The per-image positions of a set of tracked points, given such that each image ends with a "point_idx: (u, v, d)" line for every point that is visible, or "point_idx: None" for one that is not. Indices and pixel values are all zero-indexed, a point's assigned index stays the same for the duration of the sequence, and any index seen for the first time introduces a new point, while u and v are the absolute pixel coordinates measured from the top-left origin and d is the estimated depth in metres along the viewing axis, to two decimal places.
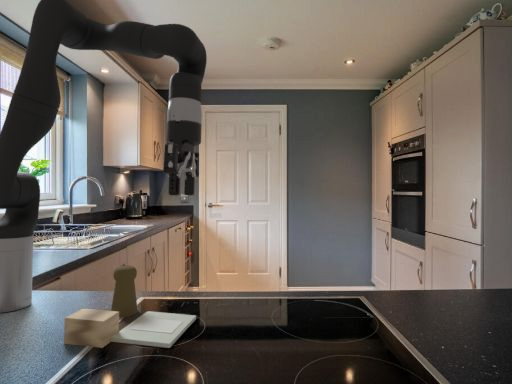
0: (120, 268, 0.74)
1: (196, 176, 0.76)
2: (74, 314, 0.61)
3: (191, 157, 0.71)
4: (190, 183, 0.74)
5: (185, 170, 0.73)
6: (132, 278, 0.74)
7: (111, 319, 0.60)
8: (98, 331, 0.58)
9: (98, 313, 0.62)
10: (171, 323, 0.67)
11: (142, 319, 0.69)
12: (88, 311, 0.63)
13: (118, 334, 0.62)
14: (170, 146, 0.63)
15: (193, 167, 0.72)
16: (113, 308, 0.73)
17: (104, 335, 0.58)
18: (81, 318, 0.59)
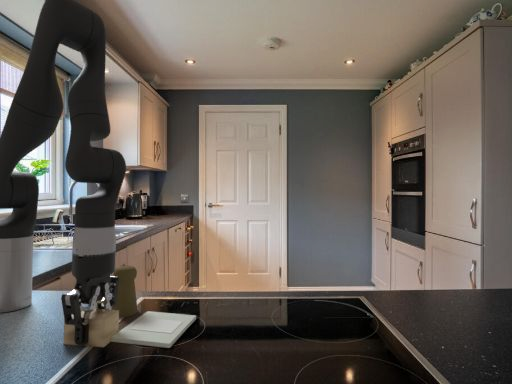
0: (120, 268, 0.74)
1: (111, 305, 0.66)
2: None
3: (103, 287, 0.62)
4: None
5: (97, 301, 0.63)
6: (132, 278, 0.74)
7: (111, 317, 0.61)
8: (99, 329, 0.58)
9: (98, 312, 0.62)
10: (171, 323, 0.67)
11: (142, 319, 0.69)
12: None
13: (118, 334, 0.62)
14: (67, 299, 0.55)
15: (105, 298, 0.63)
16: (113, 308, 0.73)
17: (105, 334, 0.59)
18: None
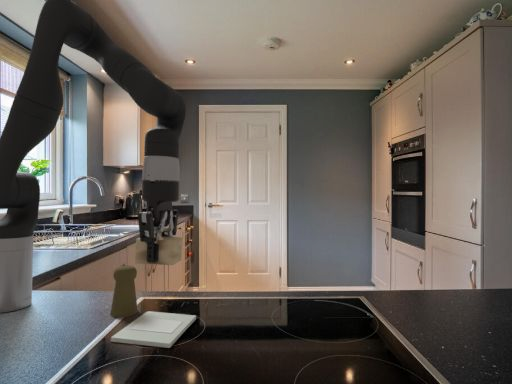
0: (120, 268, 0.74)
1: (173, 234, 0.71)
2: None
3: (168, 214, 0.67)
4: None
5: None
6: (132, 278, 0.74)
7: (177, 241, 0.66)
8: (169, 249, 0.64)
9: (163, 237, 0.67)
10: (171, 323, 0.67)
11: (142, 319, 0.69)
12: None
13: (118, 334, 0.62)
14: (143, 216, 0.60)
15: (170, 226, 0.68)
16: (113, 308, 0.73)
17: (173, 253, 0.64)
18: None
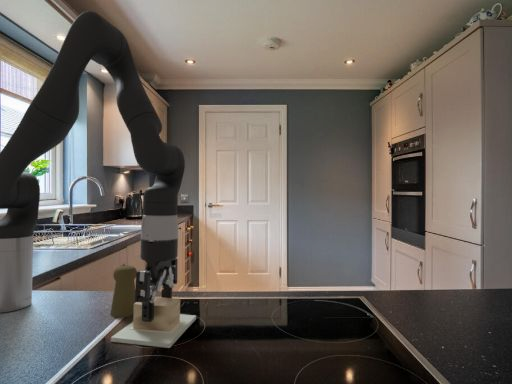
0: (120, 268, 0.74)
1: (174, 283, 0.72)
2: None
3: (167, 272, 0.67)
4: (167, 294, 0.70)
5: None
6: (132, 278, 0.74)
7: (175, 305, 0.66)
8: (166, 315, 0.64)
9: (162, 300, 0.67)
10: None
11: None
12: None
13: (118, 334, 0.62)
14: (142, 274, 0.60)
15: (170, 280, 0.69)
16: (113, 308, 0.73)
17: (171, 319, 0.64)
18: None
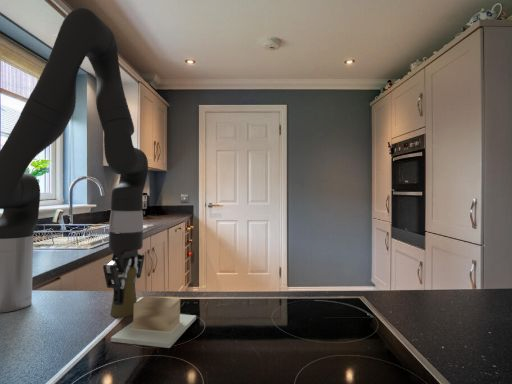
0: None
1: (137, 277, 0.79)
2: (140, 301, 0.66)
3: (133, 260, 0.76)
4: None
5: None
6: (132, 278, 0.74)
7: (175, 305, 0.66)
8: (166, 315, 0.64)
9: (162, 300, 0.67)
10: None
11: None
12: (151, 299, 0.68)
13: (118, 334, 0.62)
14: (108, 268, 0.69)
15: None
16: (113, 308, 0.73)
17: (171, 319, 0.64)
18: (149, 304, 0.64)
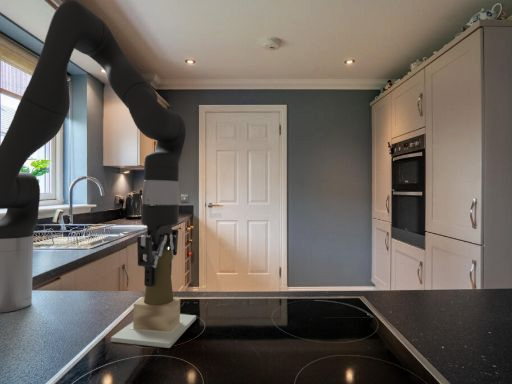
0: None
1: (173, 254, 0.72)
2: (140, 301, 0.66)
3: (168, 238, 0.67)
4: None
5: None
6: (168, 261, 0.66)
7: (175, 305, 0.66)
8: (166, 315, 0.64)
9: None
10: None
11: None
12: None
13: (118, 334, 0.62)
14: (143, 239, 0.60)
15: (170, 248, 0.68)
16: (147, 295, 0.65)
17: (171, 319, 0.64)
18: None
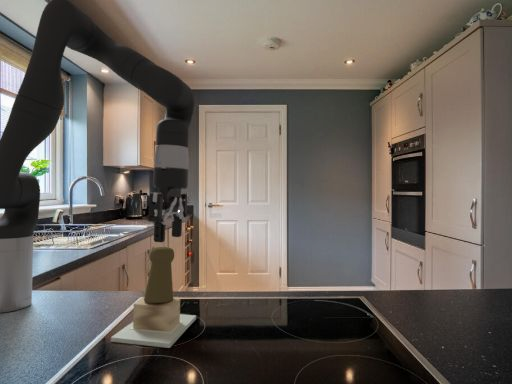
0: (157, 248, 0.67)
1: (184, 217, 0.77)
2: (140, 301, 0.66)
3: (178, 201, 0.71)
4: (177, 225, 0.75)
5: (172, 212, 0.74)
6: (170, 259, 0.67)
7: (175, 305, 0.66)
8: (166, 315, 0.64)
9: None
10: None
11: None
12: None
13: (118, 334, 0.62)
14: (155, 195, 0.64)
15: (180, 210, 0.73)
16: (148, 292, 0.65)
17: (171, 319, 0.64)
18: (149, 304, 0.64)
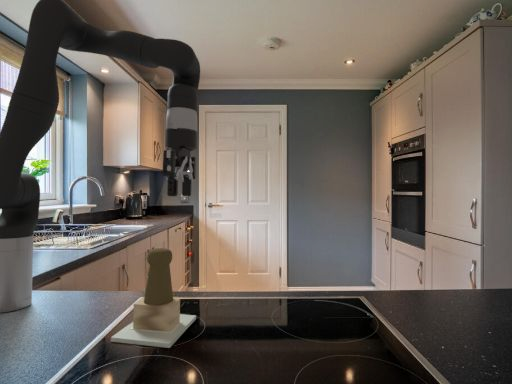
0: (155, 250, 0.66)
1: (193, 178, 0.83)
2: (140, 301, 0.66)
3: (188, 161, 0.77)
4: (187, 185, 0.80)
5: (182, 173, 0.80)
6: (168, 262, 0.66)
7: (175, 305, 0.66)
8: (166, 315, 0.64)
9: None
10: None
11: None
12: None
13: (118, 334, 0.62)
14: (168, 152, 0.70)
15: (190, 170, 0.79)
16: (147, 295, 0.65)
17: (171, 320, 0.64)
18: None
